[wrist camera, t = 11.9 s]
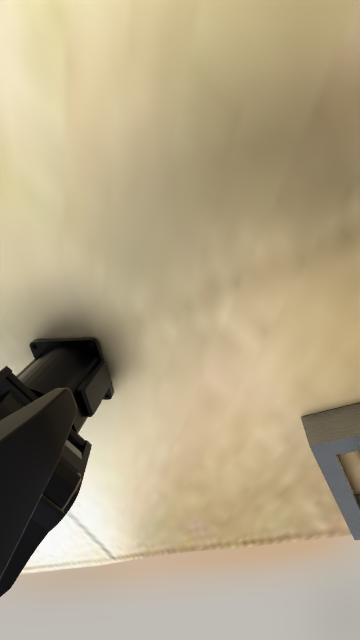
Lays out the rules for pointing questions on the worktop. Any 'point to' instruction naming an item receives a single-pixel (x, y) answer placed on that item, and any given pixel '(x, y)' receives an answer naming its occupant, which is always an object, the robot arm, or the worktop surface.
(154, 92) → the worktop surface
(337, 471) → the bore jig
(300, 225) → the worktop surface
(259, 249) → the worktop surface
